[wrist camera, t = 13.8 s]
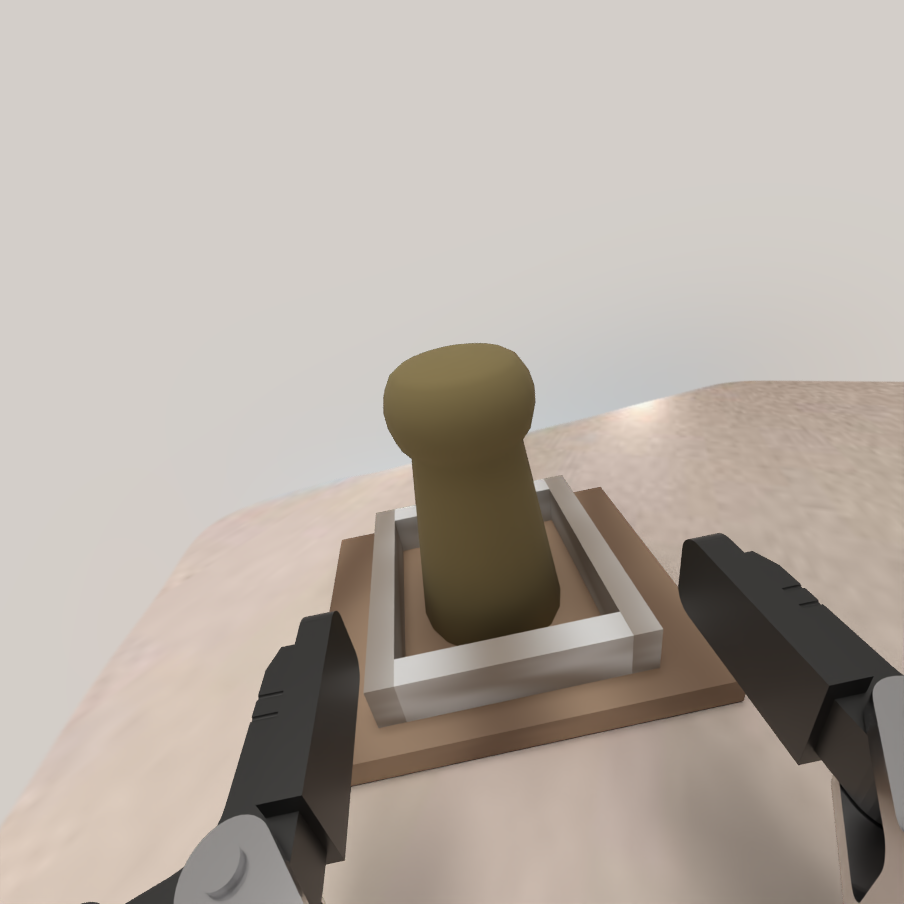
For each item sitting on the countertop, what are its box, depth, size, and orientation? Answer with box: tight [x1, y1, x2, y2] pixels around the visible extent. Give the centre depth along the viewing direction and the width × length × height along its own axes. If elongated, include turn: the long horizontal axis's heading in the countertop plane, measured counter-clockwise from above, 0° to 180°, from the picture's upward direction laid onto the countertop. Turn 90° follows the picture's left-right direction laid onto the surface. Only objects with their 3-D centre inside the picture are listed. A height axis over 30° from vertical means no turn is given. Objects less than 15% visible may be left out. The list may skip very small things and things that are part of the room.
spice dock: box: [330, 475, 745, 786], centre depth 19 cm, size 15×12×3 cm
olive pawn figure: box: [383, 343, 561, 646], centre depth 17 cm, size 6×6×11 cm
